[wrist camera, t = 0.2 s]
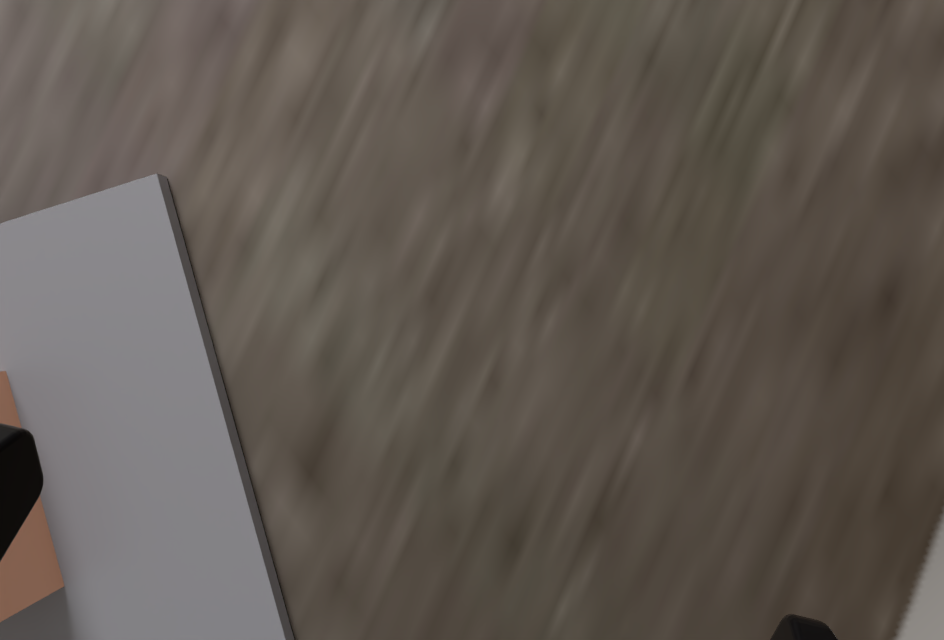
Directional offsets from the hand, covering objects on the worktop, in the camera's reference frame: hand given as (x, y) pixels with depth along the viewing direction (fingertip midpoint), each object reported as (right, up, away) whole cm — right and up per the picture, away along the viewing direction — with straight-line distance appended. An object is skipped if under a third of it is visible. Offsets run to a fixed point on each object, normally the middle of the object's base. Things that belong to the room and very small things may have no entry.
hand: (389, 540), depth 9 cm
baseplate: (-15, -3, +16) cm, 23 cm away
